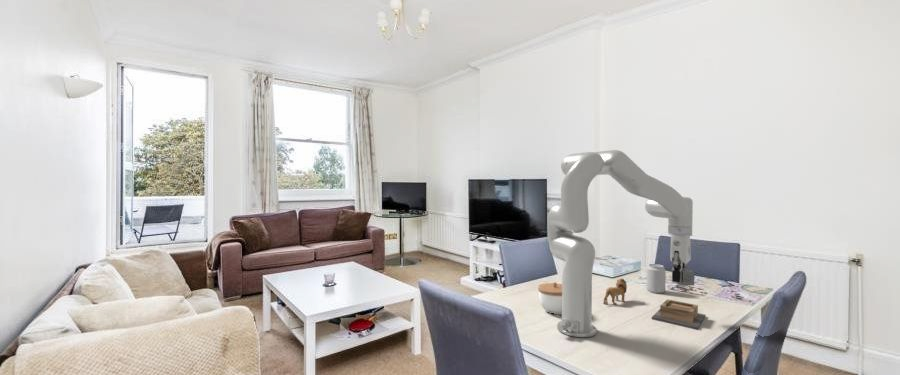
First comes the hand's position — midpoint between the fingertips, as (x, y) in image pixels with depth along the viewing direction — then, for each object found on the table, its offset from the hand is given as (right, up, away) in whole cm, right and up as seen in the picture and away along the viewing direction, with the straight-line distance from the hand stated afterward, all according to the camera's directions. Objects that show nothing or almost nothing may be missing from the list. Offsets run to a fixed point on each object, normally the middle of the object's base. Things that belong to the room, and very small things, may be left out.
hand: (679, 279), depth 137 cm
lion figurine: (-16, -14, +18) cm, 28 cm away
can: (+9, -14, +33) cm, 36 cm away
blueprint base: (0, -14, 0) cm, 14 cm away
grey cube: (+1, -1, -1) cm, 2 cm away
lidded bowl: (-44, -14, +8) cm, 46 cm away
